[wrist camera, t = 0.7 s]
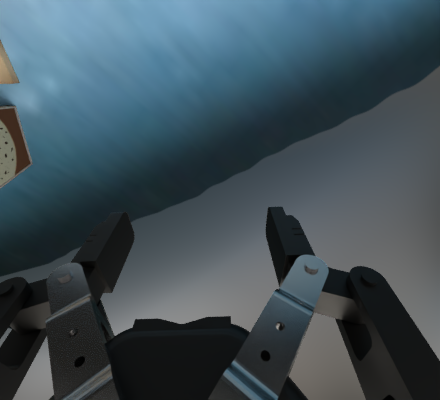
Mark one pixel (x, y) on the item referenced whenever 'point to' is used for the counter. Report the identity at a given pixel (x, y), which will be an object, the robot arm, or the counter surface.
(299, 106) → the counter surface
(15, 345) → the robot arm
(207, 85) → the counter surface
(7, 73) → the block
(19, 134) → the food container
